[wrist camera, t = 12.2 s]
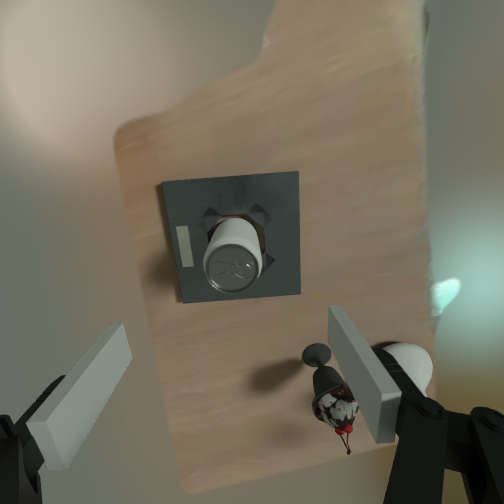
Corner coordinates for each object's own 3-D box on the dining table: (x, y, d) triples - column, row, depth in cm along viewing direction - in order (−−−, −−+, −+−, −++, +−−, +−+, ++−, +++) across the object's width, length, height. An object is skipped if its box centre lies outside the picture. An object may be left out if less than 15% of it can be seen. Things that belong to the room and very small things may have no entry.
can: (255, 260, 39) (260, 299, 27) (213, 258, 39) (200, 296, 27) (259, 218, 37) (266, 241, 25) (214, 215, 37) (200, 237, 25)
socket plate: (165, 181, 35) (161, 182, 33) (296, 171, 35) (299, 171, 33) (185, 298, 40) (183, 304, 39) (298, 289, 41) (301, 294, 39)
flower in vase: (351, 354, 45) (472, 564, 21) (413, 326, 43) (617, 517, 20) (377, 403, 49) (503, 627, 25) (434, 379, 47) (628, 592, 23)
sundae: (311, 376, 46) (341, 469, 32) (290, 351, 44) (313, 439, 30) (342, 358, 45) (388, 446, 31) (323, 332, 43) (362, 413, 29)
